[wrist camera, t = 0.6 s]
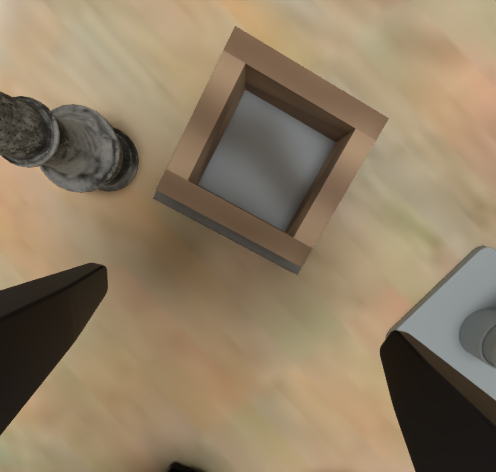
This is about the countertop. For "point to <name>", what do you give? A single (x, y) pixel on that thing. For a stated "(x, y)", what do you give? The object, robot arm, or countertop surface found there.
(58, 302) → the robot arm
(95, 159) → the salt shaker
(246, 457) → the countertop surface
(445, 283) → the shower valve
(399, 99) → the countertop surface
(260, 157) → the holder
